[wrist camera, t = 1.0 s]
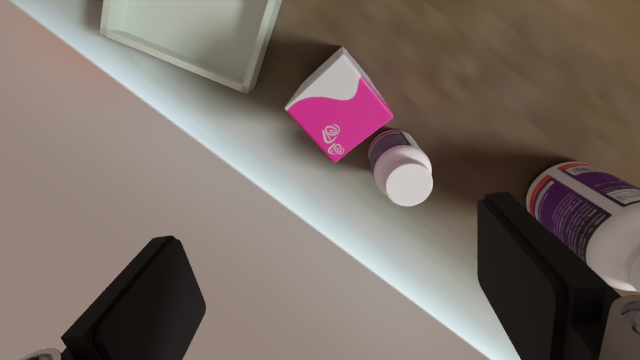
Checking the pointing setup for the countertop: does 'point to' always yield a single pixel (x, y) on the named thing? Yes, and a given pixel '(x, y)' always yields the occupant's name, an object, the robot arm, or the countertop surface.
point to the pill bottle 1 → (400, 168)
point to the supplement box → (338, 105)
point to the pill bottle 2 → (592, 218)
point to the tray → (197, 34)
